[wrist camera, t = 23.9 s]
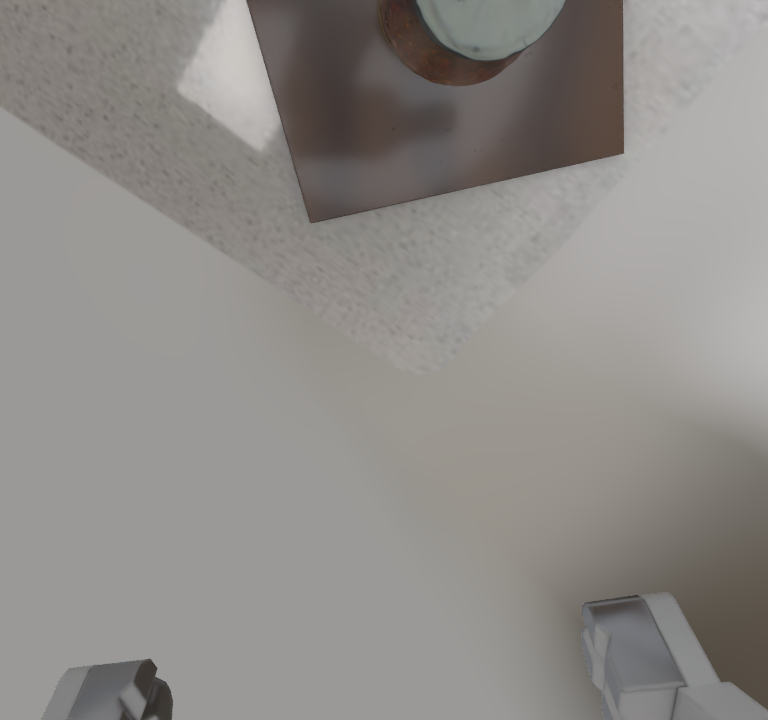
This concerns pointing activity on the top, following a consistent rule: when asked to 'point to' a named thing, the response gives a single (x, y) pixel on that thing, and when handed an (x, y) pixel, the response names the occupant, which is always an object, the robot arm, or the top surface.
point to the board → (433, 105)
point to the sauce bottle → (464, 35)
